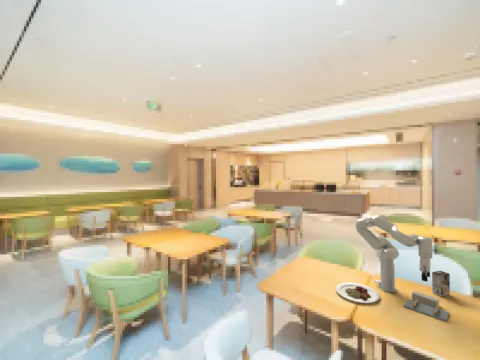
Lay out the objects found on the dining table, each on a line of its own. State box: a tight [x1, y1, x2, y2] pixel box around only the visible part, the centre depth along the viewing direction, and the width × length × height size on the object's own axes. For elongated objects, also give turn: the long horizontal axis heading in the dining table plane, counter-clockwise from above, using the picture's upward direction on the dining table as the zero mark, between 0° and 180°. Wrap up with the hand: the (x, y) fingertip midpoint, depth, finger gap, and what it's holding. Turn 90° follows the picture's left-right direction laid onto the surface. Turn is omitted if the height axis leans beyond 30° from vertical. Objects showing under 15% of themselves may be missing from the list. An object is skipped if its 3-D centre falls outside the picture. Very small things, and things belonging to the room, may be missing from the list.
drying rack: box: [403, 298, 450, 323], centre depth 152 cm, size 22×12×3 cm, turn 42°
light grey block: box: [411, 290, 440, 308], centre depth 161 cm, size 14×5×5 cm, turn 38°
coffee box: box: [431, 270, 451, 297], centre depth 172 cm, size 9×6×16 cm
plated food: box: [335, 281, 381, 304], centre depth 174 cm, size 30×30×3 cm
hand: (425, 278), depth 160 cm, fingers open, 9 cm apart
